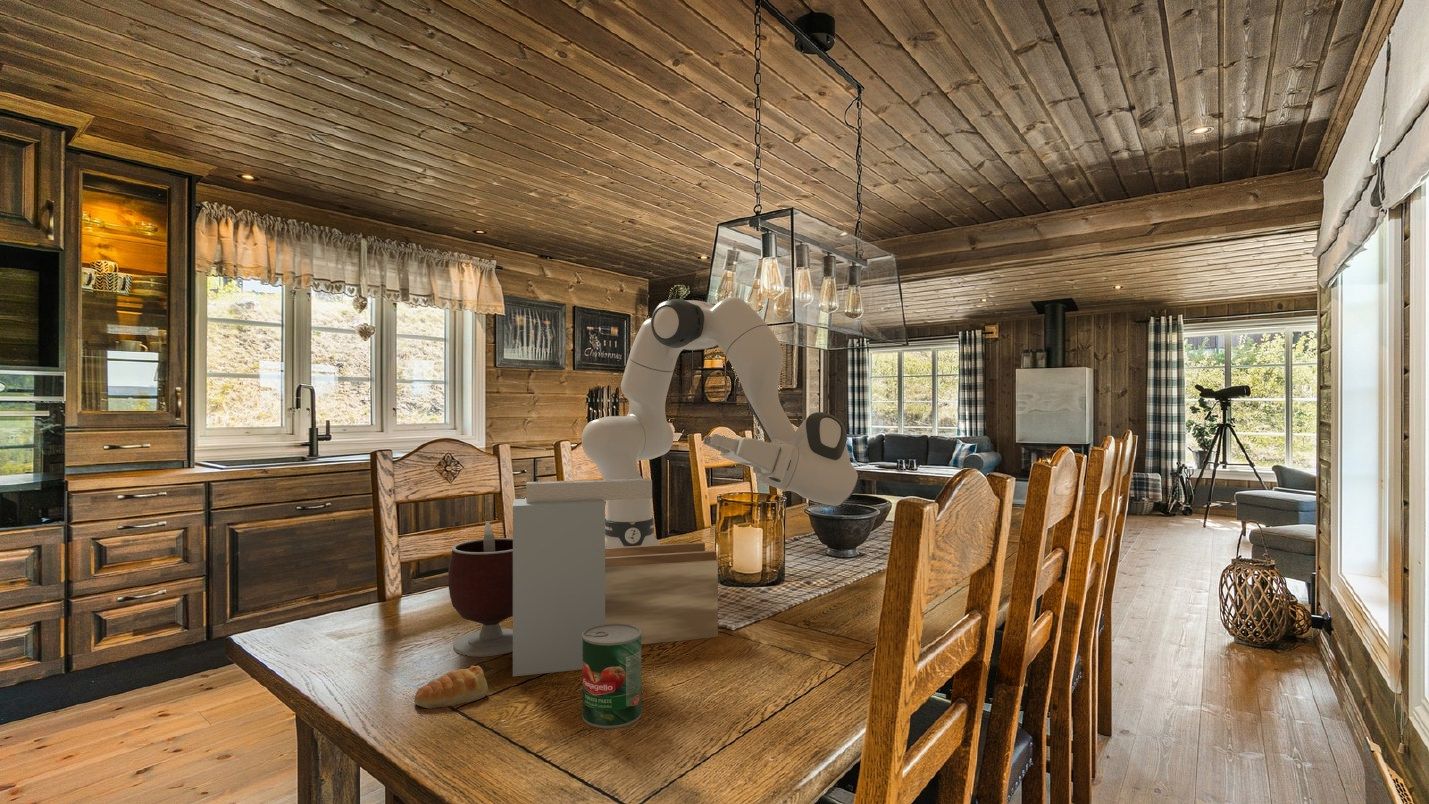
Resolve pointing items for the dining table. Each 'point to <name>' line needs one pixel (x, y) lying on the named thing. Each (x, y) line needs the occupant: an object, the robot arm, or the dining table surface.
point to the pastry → (453, 688)
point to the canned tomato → (611, 675)
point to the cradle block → (663, 591)
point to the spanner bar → (588, 490)
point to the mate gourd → (483, 592)
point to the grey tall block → (556, 582)
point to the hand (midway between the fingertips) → (707, 438)
